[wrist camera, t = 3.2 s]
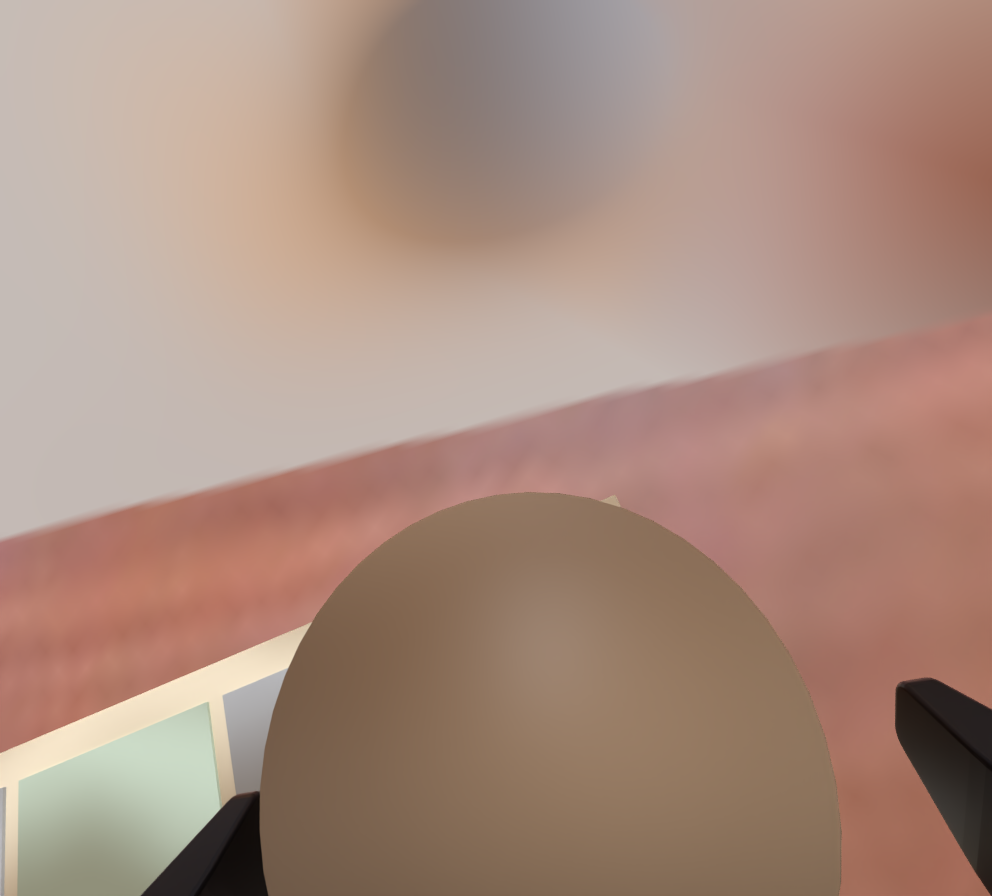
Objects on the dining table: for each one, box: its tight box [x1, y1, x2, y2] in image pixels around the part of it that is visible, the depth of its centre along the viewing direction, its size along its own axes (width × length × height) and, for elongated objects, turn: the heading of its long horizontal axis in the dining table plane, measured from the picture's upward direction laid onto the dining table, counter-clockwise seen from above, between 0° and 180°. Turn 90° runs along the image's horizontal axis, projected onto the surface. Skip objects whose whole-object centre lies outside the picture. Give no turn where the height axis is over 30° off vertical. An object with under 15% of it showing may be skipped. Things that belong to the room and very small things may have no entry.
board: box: [0, 495, 621, 896], centre depth 15 cm, size 10×26×1 cm, turn 110°
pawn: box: [260, 492, 842, 896], centre depth 10 cm, size 6×6×11 cm
